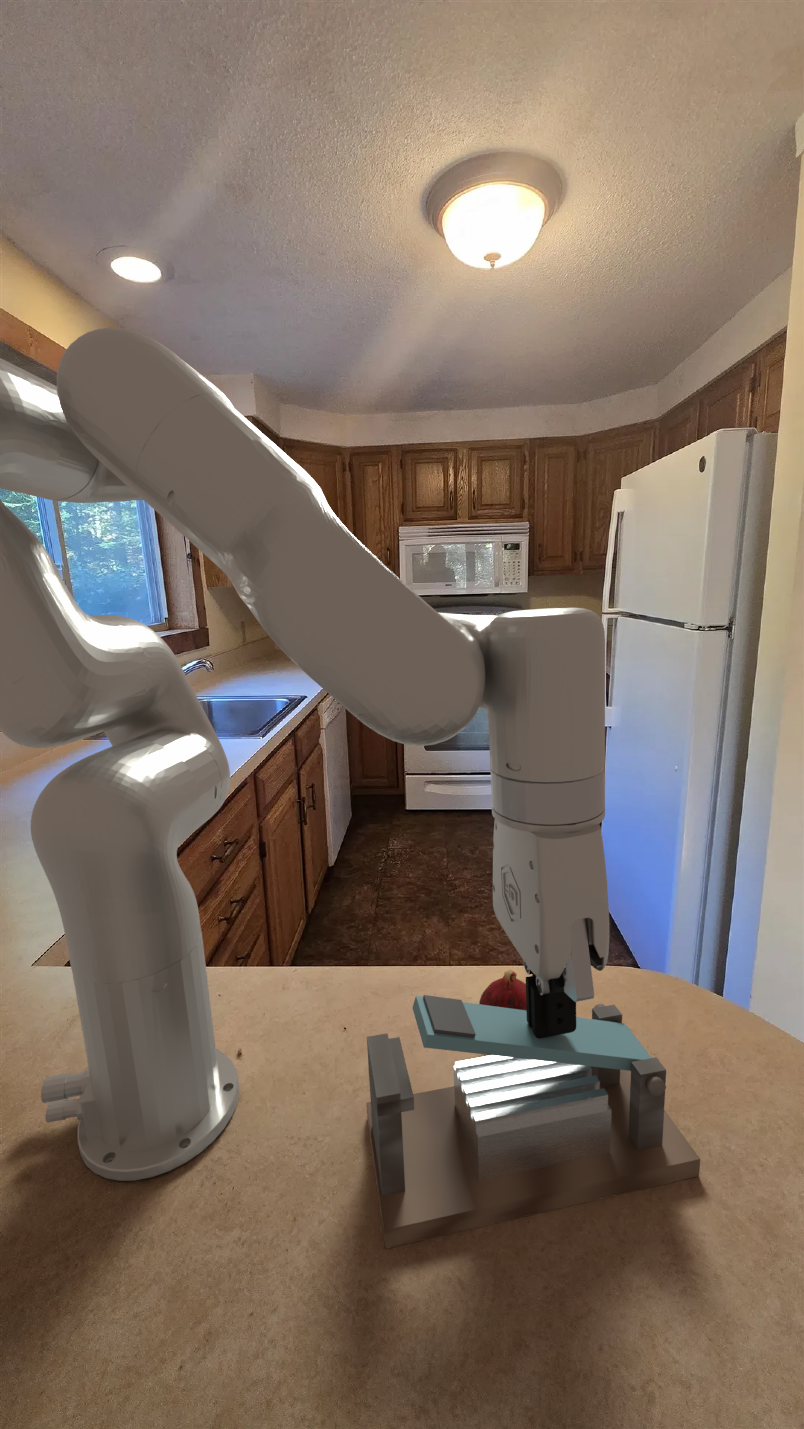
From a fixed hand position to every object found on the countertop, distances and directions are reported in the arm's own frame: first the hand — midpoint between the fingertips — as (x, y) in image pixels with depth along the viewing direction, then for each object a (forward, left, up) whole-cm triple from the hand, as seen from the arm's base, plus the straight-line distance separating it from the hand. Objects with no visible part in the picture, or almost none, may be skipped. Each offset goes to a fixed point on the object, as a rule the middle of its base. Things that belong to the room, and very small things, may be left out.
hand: (551, 1027), depth 43 cm
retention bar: (-1, 0, -1) cm, 2 cm away
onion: (0, +10, -11) cm, 14 cm away
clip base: (-2, 0, -10) cm, 10 cm away
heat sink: (-2, 0, -9) cm, 9 cm away
